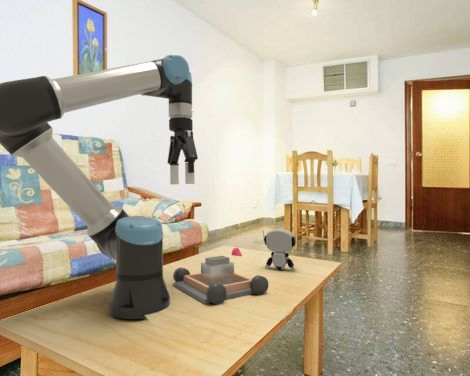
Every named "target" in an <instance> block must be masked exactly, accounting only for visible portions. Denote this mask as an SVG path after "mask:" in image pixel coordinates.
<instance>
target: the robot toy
mask: <svg viewBox="0 0 470 376" xmlns="http://www.w3.org/2000/svg"><path fill="white" fill-rule="evenodd" d="M262 235H263V241H264V245H265V246H266V248H267V249H268V250H269V251H271V253H270V255H271V256H270V257H268V258H267V260H266V263H265V268H266V269H270V268H271V266H272V264H273V266H274V269H276V270H278V271H282V270H283V269H285V268H286V265H287V267H288V268H289V270H290V272H295V270H296V267H295V264H294V262H293V260H292V259H291V258H290V257H289V256H290V254H289V252H290V251H292V250H293V248H294V247H295V246H296V245H297V244H296V243H297V237H296V231H294V234H293V233H292V232H291V231H290V230H287V229H282V228H276V229H272V230H270V231H268V232H266V235H265V230H262Z"/></svg>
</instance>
